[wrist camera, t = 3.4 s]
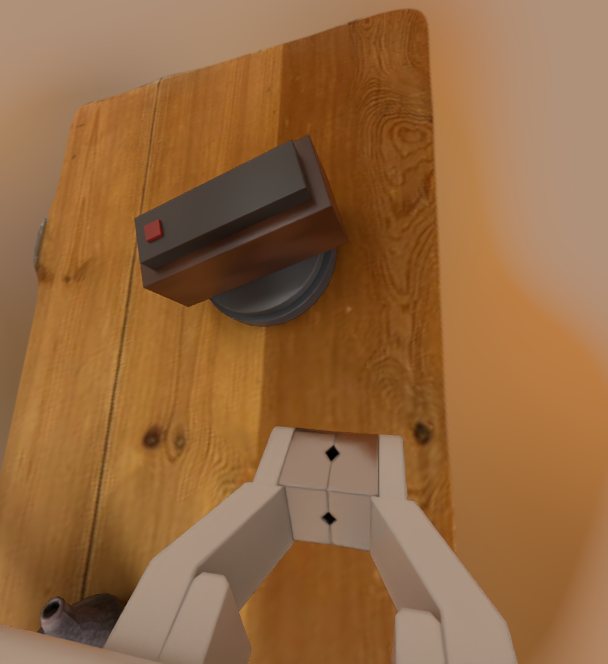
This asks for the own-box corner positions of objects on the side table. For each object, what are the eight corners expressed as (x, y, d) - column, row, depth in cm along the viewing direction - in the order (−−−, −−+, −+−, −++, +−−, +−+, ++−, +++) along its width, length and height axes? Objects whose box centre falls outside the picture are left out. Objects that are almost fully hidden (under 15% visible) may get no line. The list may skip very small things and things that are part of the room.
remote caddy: (323, 162, 28) (290, 83, 21) (362, 280, 25) (339, 232, 18) (182, 228, 32) (115, 179, 25) (200, 340, 29) (130, 318, 22)
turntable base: (355, 297, 27) (351, 291, 25) (222, 345, 30) (212, 342, 28) (315, 174, 30) (310, 163, 29) (200, 228, 33) (190, 220, 32)
